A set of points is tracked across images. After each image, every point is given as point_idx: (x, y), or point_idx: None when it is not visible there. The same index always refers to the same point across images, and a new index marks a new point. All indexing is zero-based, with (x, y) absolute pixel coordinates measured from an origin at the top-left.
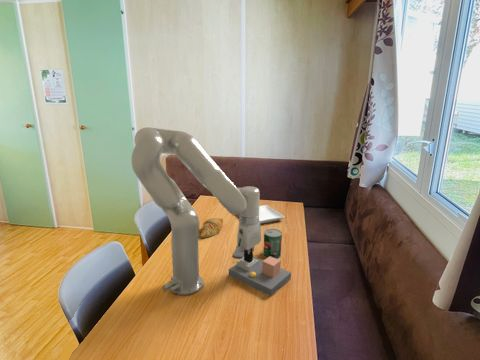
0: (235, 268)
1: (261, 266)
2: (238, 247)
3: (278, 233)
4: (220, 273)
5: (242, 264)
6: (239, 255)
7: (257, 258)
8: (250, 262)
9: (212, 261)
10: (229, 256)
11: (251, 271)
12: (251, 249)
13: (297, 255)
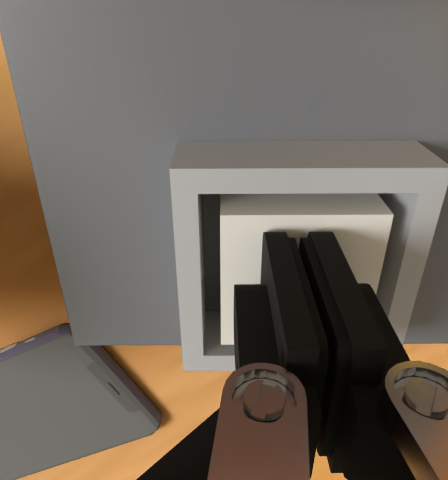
0: (436, 302)
1: (180, 73)
2: (18, 468)
3: None
4: (443, 353)
5: (414, 284)
6: (110, 404)
7: (54, 247)
8: (318, 229)
9: (321, 470)
10: (174, 439)
11: (398, 111)
12: (307, 442)
13: None
